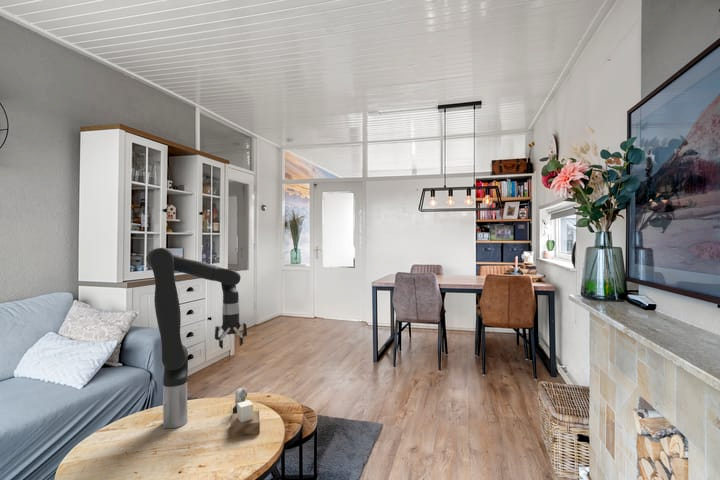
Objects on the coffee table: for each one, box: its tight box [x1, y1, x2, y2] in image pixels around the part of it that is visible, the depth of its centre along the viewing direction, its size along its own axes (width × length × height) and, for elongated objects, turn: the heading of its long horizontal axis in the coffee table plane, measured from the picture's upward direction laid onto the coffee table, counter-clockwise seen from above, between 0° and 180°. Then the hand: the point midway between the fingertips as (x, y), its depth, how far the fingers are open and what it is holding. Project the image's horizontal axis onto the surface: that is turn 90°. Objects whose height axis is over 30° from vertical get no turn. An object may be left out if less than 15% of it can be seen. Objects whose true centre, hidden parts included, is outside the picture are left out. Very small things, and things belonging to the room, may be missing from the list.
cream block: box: [237, 399, 254, 422], centre depth 154 cm, size 5×5×6 cm
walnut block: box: [230, 410, 261, 439], centre depth 154 cm, size 11×11×5 cm
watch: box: [232, 387, 249, 414], centre depth 168 cm, size 6×8×11 cm
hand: (231, 346), depth 176 cm, fingers open, 8 cm apart
